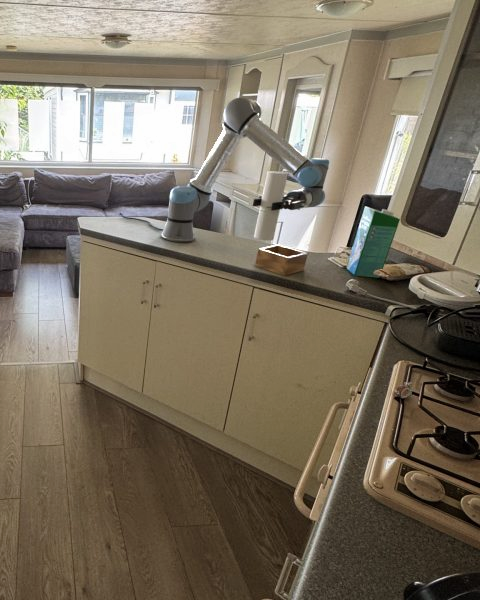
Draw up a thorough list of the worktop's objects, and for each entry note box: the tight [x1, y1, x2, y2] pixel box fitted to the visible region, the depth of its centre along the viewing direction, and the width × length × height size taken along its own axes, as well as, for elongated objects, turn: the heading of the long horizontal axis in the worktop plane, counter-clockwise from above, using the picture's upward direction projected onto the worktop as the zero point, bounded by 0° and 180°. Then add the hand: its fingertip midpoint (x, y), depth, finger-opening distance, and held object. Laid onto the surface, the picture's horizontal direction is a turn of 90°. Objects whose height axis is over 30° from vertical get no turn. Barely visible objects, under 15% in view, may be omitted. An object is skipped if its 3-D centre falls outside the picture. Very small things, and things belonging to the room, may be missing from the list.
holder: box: [254, 244, 309, 277], centre depth 168 cm, size 13×13×7 cm
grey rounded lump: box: [394, 381, 413, 399], centre depth 93 cm, size 3×2×4 cm
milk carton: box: [345, 206, 401, 279], centre depth 163 cm, size 9×9×25 cm
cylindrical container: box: [253, 170, 289, 241], centre depth 164 cm, size 7×7×25 cm
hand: (263, 204), depth 161 cm, fingers closed on cylindrical container, 7 cm apart
